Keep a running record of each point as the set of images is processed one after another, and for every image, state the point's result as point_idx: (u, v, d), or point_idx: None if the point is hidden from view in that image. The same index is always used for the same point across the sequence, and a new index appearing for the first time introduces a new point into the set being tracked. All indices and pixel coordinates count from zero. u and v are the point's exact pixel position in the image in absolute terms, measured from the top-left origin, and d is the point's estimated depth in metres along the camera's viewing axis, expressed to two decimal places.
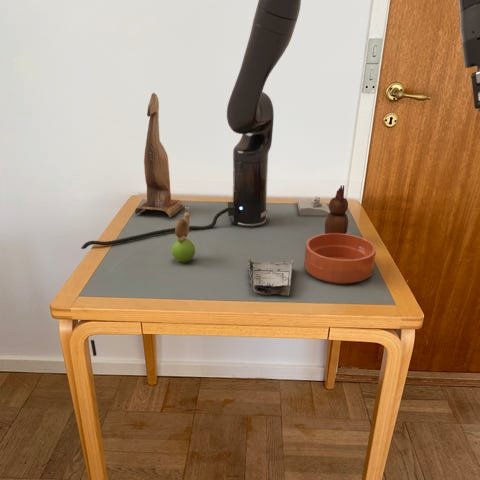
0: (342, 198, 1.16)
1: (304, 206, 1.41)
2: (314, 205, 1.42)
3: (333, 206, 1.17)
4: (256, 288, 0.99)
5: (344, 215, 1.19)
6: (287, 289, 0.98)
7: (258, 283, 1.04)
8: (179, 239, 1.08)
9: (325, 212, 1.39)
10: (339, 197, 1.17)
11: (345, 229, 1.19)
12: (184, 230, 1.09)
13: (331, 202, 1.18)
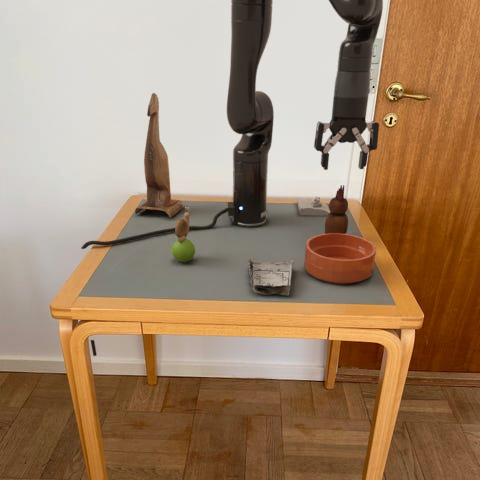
0: (342, 198, 1.16)
1: (304, 206, 1.41)
2: (314, 205, 1.42)
3: (333, 206, 1.17)
4: (256, 288, 0.99)
5: (344, 215, 1.19)
6: (287, 289, 0.98)
7: (258, 283, 1.04)
8: (179, 239, 1.08)
9: (325, 212, 1.39)
10: (339, 197, 1.17)
11: (345, 229, 1.19)
12: (184, 230, 1.09)
13: (331, 202, 1.18)
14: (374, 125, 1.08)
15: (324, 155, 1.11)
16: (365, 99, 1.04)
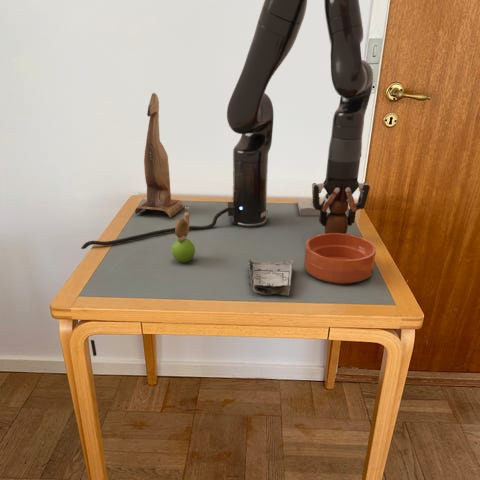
0: (342, 198, 1.16)
1: (304, 206, 1.41)
2: None
3: (333, 206, 1.17)
4: (256, 288, 0.99)
5: (344, 215, 1.19)
6: (287, 289, 0.98)
7: (258, 283, 1.04)
8: (179, 239, 1.08)
9: None
10: None
11: (345, 229, 1.19)
12: (184, 230, 1.09)
13: None
14: (365, 187, 1.15)
15: (322, 213, 1.19)
16: (357, 163, 1.11)
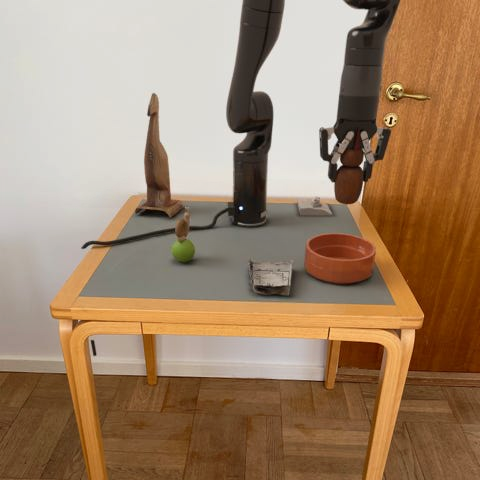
0: (357, 145, 0.93)
1: (304, 206, 1.41)
2: (314, 205, 1.42)
3: (345, 156, 0.94)
4: (256, 288, 0.99)
5: (359, 168, 0.96)
6: (287, 289, 0.98)
7: (258, 283, 1.04)
8: (179, 239, 1.08)
9: (325, 212, 1.39)
10: None
11: (360, 185, 0.97)
12: (184, 230, 1.09)
13: None
14: (385, 131, 0.93)
15: (332, 166, 0.96)
16: (376, 98, 0.88)
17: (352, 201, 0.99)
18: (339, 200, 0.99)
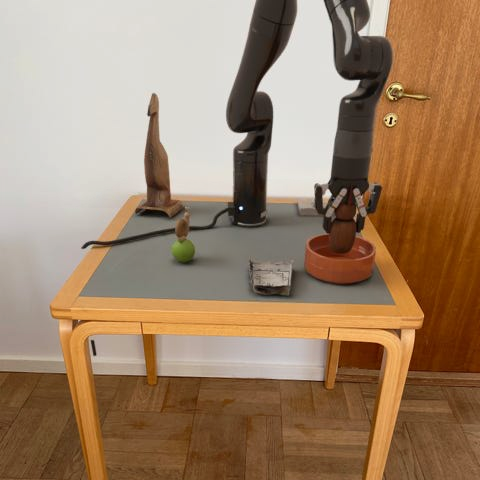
0: (350, 201, 0.99)
1: (304, 206, 1.41)
2: (314, 205, 1.42)
3: (339, 210, 1.00)
4: (256, 288, 0.99)
5: (352, 221, 1.02)
6: (287, 289, 0.98)
7: (258, 283, 1.04)
8: (179, 239, 1.08)
9: None
10: None
11: (353, 237, 1.02)
12: (184, 230, 1.09)
13: (337, 206, 1.00)
14: (377, 188, 0.98)
15: (326, 218, 1.02)
16: (368, 159, 0.94)
17: (346, 251, 1.04)
18: (333, 250, 1.05)
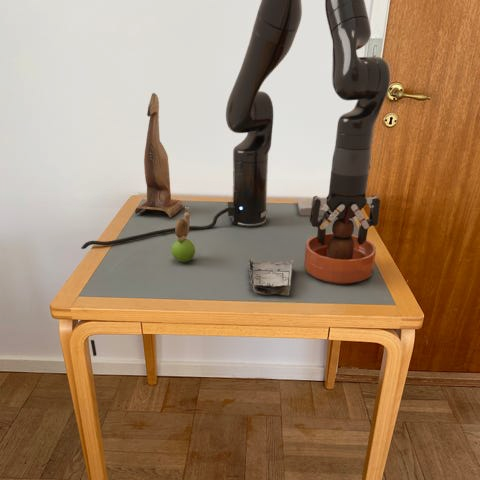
0: (347, 220, 1.01)
1: (304, 206, 1.41)
2: None
3: (337, 229, 1.02)
4: (256, 288, 0.99)
5: (349, 239, 1.04)
6: (287, 289, 0.98)
7: (258, 283, 1.04)
8: (179, 239, 1.08)
9: None
10: (344, 219, 1.02)
11: (350, 255, 1.04)
12: (184, 230, 1.09)
13: (335, 224, 1.03)
14: (375, 201, 1.00)
15: (320, 231, 1.03)
16: (365, 176, 0.95)
17: None
18: None
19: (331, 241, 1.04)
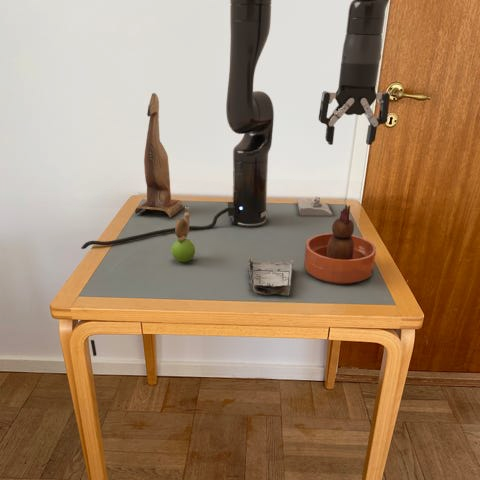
0: (347, 220, 1.01)
1: (304, 206, 1.41)
2: (314, 205, 1.42)
3: (337, 229, 1.02)
4: (256, 288, 0.99)
5: (349, 239, 1.04)
6: (287, 289, 0.98)
7: (258, 283, 1.04)
8: (179, 239, 1.08)
9: (325, 212, 1.39)
10: (344, 219, 1.02)
11: (350, 255, 1.04)
12: (184, 230, 1.09)
13: (335, 224, 1.03)
14: (384, 96, 0.99)
15: (329, 128, 1.03)
16: (375, 66, 0.95)
17: None
18: None
19: (331, 241, 1.04)
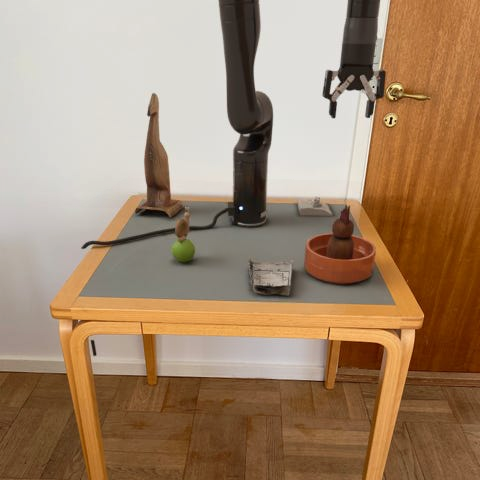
0: (347, 220, 1.01)
1: (304, 206, 1.41)
2: (314, 205, 1.42)
3: (337, 229, 1.02)
4: (256, 288, 0.99)
5: (349, 239, 1.04)
6: (287, 289, 0.98)
7: (258, 283, 1.04)
8: (179, 239, 1.08)
9: (325, 212, 1.39)
10: (344, 219, 1.02)
11: (350, 255, 1.04)
12: (184, 230, 1.09)
13: (335, 224, 1.03)
14: (381, 73, 1.11)
15: (332, 103, 1.15)
16: (373, 45, 1.07)
17: None
18: None
19: (331, 241, 1.04)
